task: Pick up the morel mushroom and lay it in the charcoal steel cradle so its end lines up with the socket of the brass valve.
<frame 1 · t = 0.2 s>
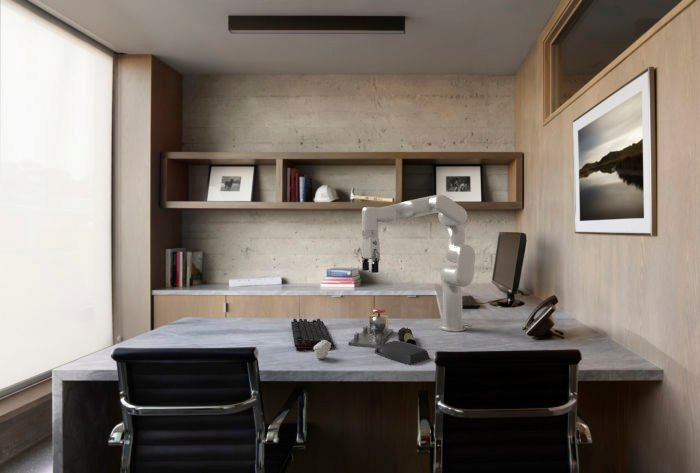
hand: (370, 271, 181), 31 cm above the table, tool pointing down, fingers open, 9 cm apart
keyboard: (310, 338, 185), on the table
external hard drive: (401, 357, 156), on the table
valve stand: (371, 338, 181), on the table
morel mushroom: (406, 343, 174), on the table
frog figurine: (322, 359, 153), on the table
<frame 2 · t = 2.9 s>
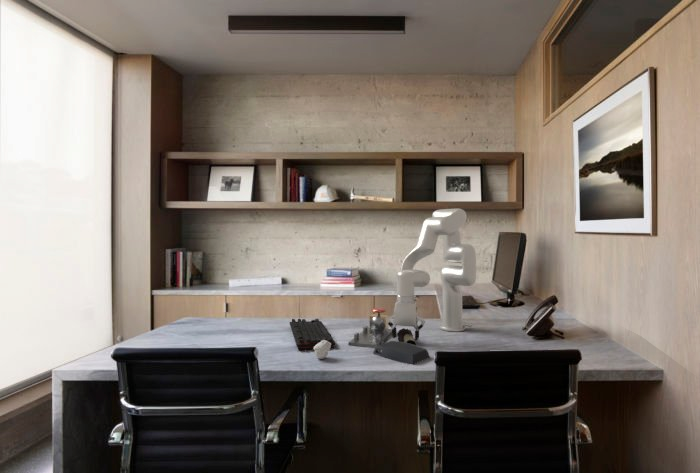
hand: (405, 338, 174), 2 cm above the table, tool pointing down, fingers open, 9 cm apart
morel mushroom: (406, 344, 173), on the table
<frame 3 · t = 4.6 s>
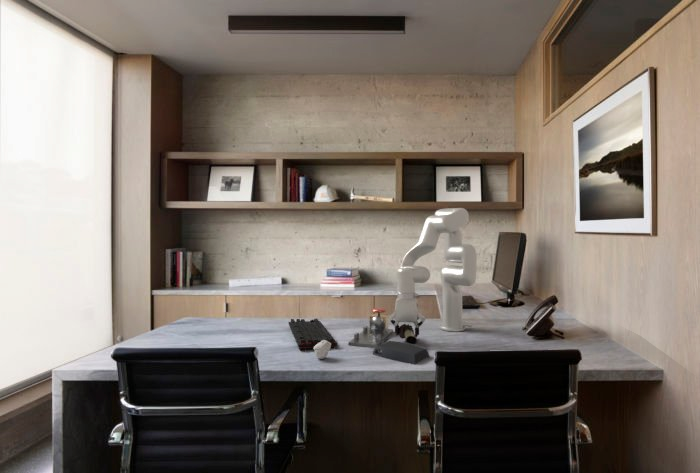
hand: (407, 335, 175), 3 cm above the table, tool pointing down, fingers closed on morel mushroom, 7 cm apart
morel mushroom: (407, 340, 173), point 1 cm above the table, touching gripper
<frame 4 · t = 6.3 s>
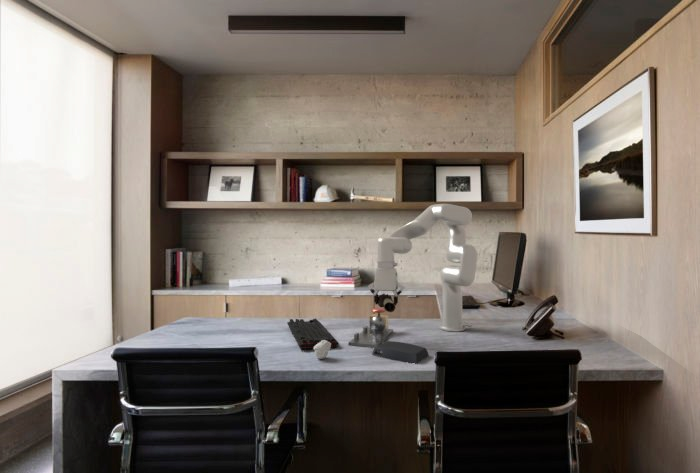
hand: (386, 304, 178), 16 cm above the table, tool pointing down, fingers closed on morel mushroom, 7 cm apart
morel mushroom: (386, 308, 176), point 15 cm above the table, touching gripper
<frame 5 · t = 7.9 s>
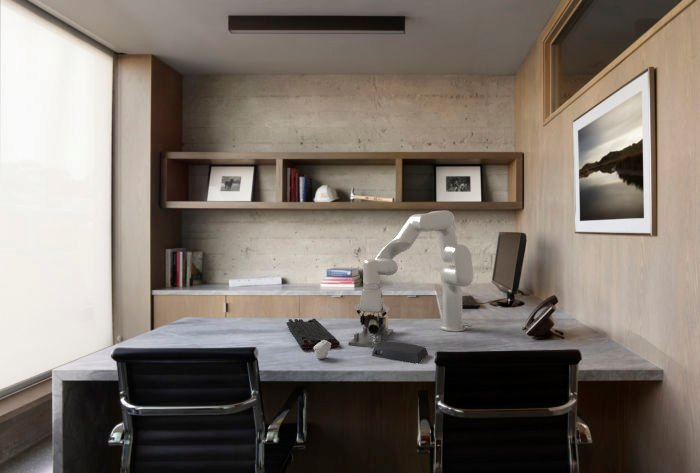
hand: (371, 325, 181), 6 cm above the table, tool pointing down, fingers closed on morel mushroom, 7 cm apart
morel mushroom: (371, 329, 179), point 5 cm above the table, touching gripper
when the fingers open (4 cm above the table, at t = 9.1 s): morel mushroom stays where it is, resting on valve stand.
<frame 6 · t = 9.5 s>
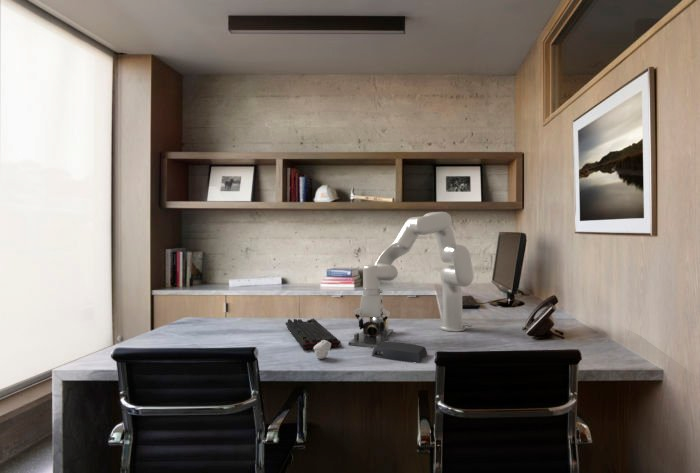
hand: (371, 329, 181), 4 cm above the table, tool pointing down, fingers open, 9 cm apart
morel mushroom: (371, 334, 179), point 2 cm above the table, touching gripper, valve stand
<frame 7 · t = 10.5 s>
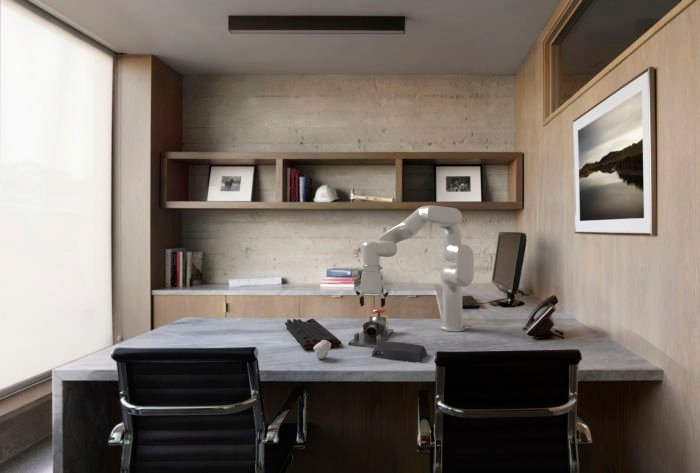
hand: (372, 306, 181), 15 cm above the table, tool pointing down, fingers open, 9 cm apart
morel mushroom: (371, 335, 179), point 2 cm above the table, touching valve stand
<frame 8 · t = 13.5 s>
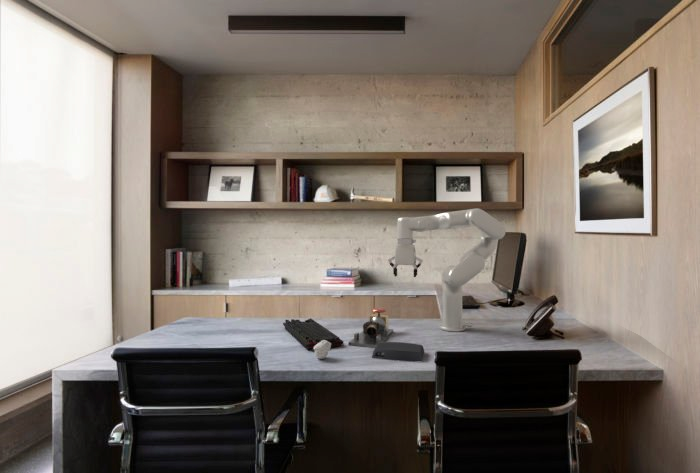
hand: (405, 276, 197), 26 cm above the table, tool pointing down, fingers open, 9 cm apart
at the end: morel mushroom 2.3 cm off-centre on the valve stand, point 2.2 cm above the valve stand's base; morel mushroom tilted 14°; the gripper is holding nothing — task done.
